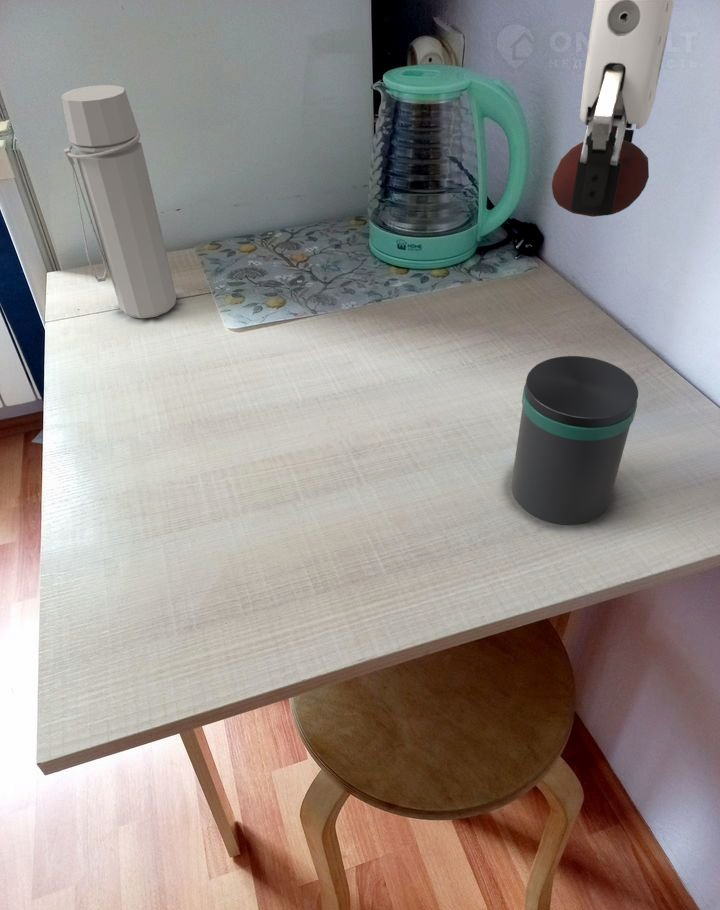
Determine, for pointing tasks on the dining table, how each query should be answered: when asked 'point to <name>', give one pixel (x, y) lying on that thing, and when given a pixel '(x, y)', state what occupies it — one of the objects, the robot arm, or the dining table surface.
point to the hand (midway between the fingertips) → (599, 192)
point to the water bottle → (119, 198)
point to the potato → (629, 181)
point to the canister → (572, 437)
